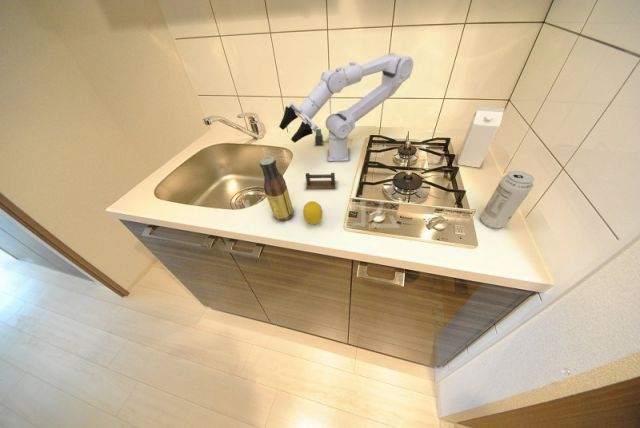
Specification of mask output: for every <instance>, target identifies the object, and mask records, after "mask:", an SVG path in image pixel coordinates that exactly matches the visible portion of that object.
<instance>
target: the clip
mask: <svg viewBox="0 0 640 428" xmlns="http://www.w3.org/2000/svg"><path fill="white" fill-rule="evenodd" d="M314 136H315V137H314V143H315V146H323V143H324V138H323V134H322V129H321V128H318V129H317V130H316V131H315V135H314Z"/></svg>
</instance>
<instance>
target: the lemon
mask: <svg viewBox="0 0 640 428" xmlns="http://www.w3.org/2000/svg"><path fill="white" fill-rule="evenodd" d="M323 212H324V211H323V208H322V205H321V204H320V203H319V202H317V201H313V200H311V201H308V202H306V203H305V205H304V206H303V209H302V215H303V218H304V220H305V222H306V223H308V224H311V225H316V224H318V223H320V222H321V220H322V219H323V215H324V214H323Z"/></svg>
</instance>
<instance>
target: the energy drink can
mask: <svg viewBox="0 0 640 428" xmlns="http://www.w3.org/2000/svg"><path fill="white" fill-rule="evenodd" d="M534 181H535V177H534V176H533V175H532V174H530V173H529V172H526V171H524V170H510V171H509V172H508V173H507V174H505V175H503V176H502V178H501V179H500V180H499V183H498V184H497V186H496V188H495V189H494V191H493V193H492V194H491V197H490V199H489V200H488V202H487V204H486V205H485V206H484V208H483V210H482V212H481V214H480V220H481V223H482V224H483V225H484V226H486V227H488V228H490V229H496V230H497V229H501V228H504V227H506V226H507V224H508V223H509V221H511V219H512V218H513V216H514V215H515V214H516V212H517V210H518V209H519V207H520V206H521V205H522V204H523V202H524V201H525V200H526V198H527V196H528V195H529V193H530V192H531V191H532V189H533V188H534Z"/></svg>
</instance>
